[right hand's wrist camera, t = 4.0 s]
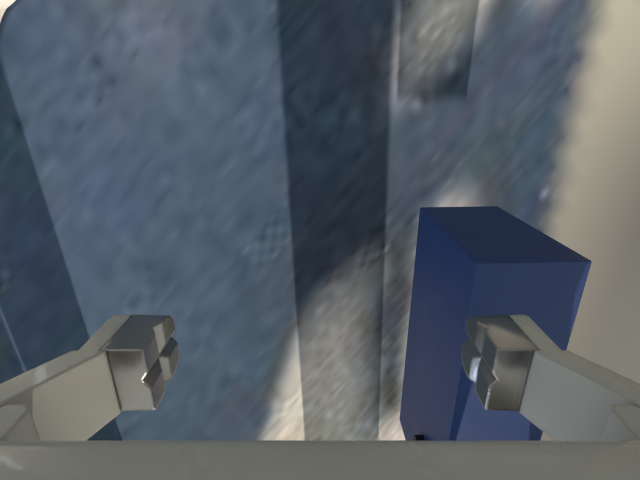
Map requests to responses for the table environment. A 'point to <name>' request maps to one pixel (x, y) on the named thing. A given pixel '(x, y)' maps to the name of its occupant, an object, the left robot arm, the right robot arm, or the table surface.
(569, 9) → the table surface
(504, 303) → the box
